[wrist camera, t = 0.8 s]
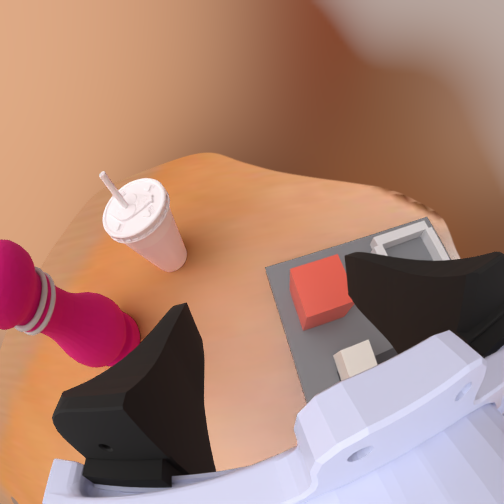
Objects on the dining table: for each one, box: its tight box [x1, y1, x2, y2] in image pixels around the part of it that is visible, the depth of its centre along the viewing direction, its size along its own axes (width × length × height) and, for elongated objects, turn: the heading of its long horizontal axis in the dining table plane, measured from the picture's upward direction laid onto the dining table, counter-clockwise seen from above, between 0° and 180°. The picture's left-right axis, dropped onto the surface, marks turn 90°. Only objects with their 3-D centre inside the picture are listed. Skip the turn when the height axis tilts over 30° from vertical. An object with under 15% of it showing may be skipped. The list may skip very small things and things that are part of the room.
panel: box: [265, 217, 451, 403], centre depth 22 cm, size 18×20×3 cm
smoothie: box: [99, 171, 187, 272], centre depth 24 cm, size 6×6×14 cm
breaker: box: [333, 339, 377, 381], centre depth 19 cm, size 4×2×3 cm, turn 15°
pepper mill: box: [0, 240, 140, 367], centre depth 17 cm, size 7×7×20 cm
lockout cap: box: [290, 254, 354, 331], centre depth 22 cm, size 4×4×5 cm
